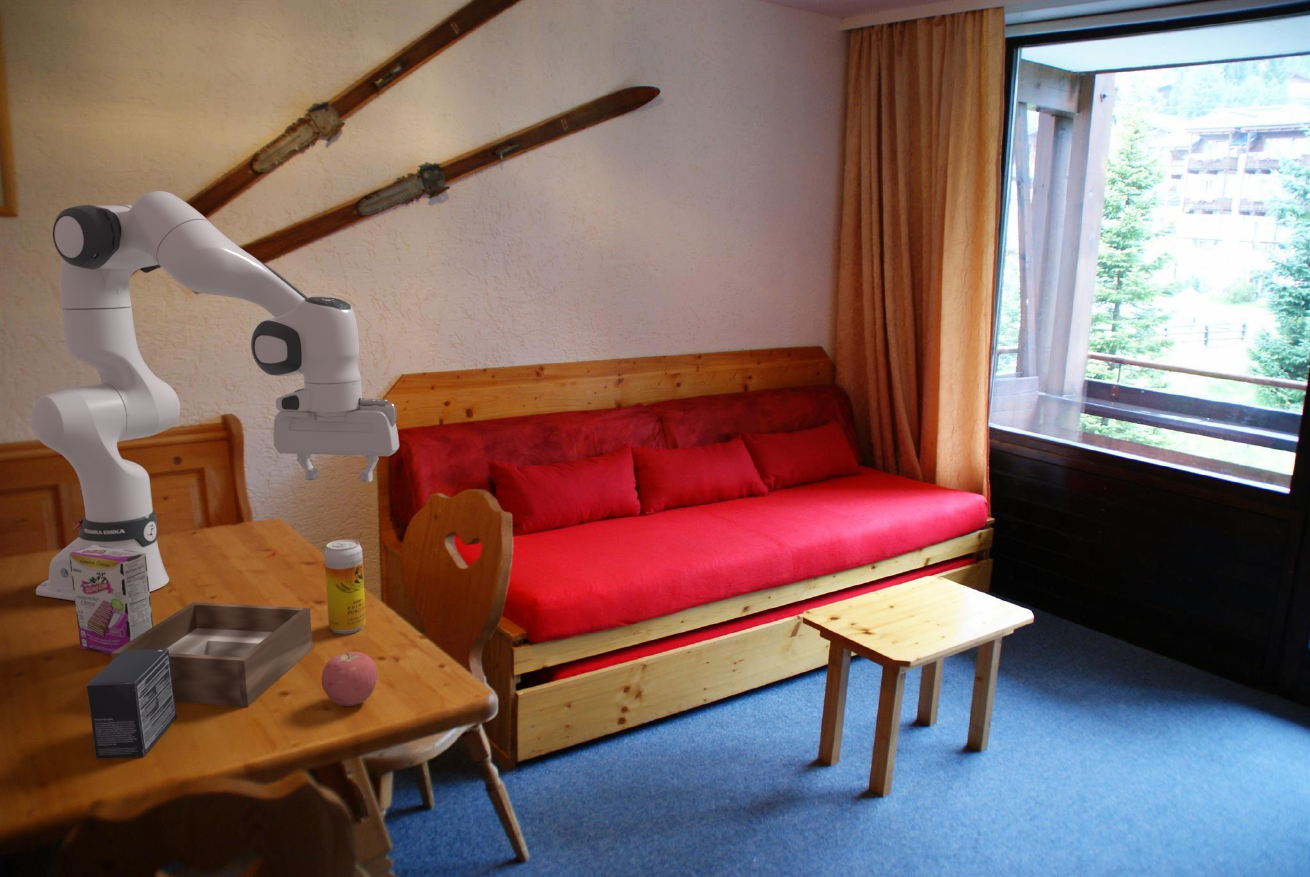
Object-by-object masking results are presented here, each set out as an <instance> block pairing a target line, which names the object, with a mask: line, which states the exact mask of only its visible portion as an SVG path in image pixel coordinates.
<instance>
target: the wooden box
mask: <svg viewBox="0 0 1310 877" xmlns="http://www.w3.org/2000/svg"><path fill="white" fill-rule="evenodd" d="M312 635H313V634H312V621H311V608H310V607H309V608H308V607H294V606H293V607H292V606H275V605H274V606H273V605H253V604H237V603H236V604H231V603H217V602H215V603H214V602H194V601H193V602H190V603H189V604H187V605H186V606H183V607H182V608H181V609H179V610H178V611H176V612H175V613H173V614H171V615H169V617H167V618H165V619H164V620H162V621H160V622H159V623H157V624H155V625H153V627H152V628H151V629H149V630H147V631H146V632H144V633H143V634H141V635H139V636H138V637H136V638H135V639H133V640H131V641H130V642H128V643H127V644H125V645H123V646H122V647H120V648H119V649H117V650H115V651H114V652H112V653H111V654H110V655H111V660H112V661H113V660H114V659H115V658H116V657H117V656H118V655H119V654H120V653H122V652H123V651H128V650H148V649H168V650H169V658H170V667H171V675H172V685H173V694H174V701H175V703H184V704H198V705H199V704H200V705H213V706H214V705H217V706H231V707H246V708H248V707H250V706H251V705H252V704H253V703H254V702H255V701H256V700H257V699H259V697H261V696H262V695H263V694H264V693H265V692H266V691H268V689H269V688H271V687H272V686H273V685H274V684H275V683H277V682H278V680H280V679H281V678H282V677H283V676H285V675H286V673H287V672H289V671H290V670H291V669H292V668H293V667H294V666H295V665H296V664H297V663H299V662H300V661H301V660H302V659H303V658H304V657H305V656H306V655H308V654H309V653H310V652H311V651H312V650H313V636H312ZM112 661H111V662H112Z"/></svg>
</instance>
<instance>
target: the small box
mask: <svg viewBox="0 0 1310 877" xmlns="http://www.w3.org/2000/svg"><path fill="white" fill-rule="evenodd" d="M86 692H87V699H88V707H89V715H90V721H91V729H92V736H93V738H92V739H93V744H94V746H93V747H94V752H95V753H94V754H95V759H96V760H97V759H99V760H100V759H124V758H127V759H128V758H144V757H146V756H147V754H149V752H150V751H151V750H152V748H153V747H154V746H155V745H156V744H157V743H158V742H159V740H160V739H161V737H163V735H164V734H165V733H166V731H168V729H169V728H170V727H171V725H173V724H174V722H175V721H176V719H177V718H178V715H177V714H178V713H177V707H176V704H175V703H176V702H175V701H174V694H173V685H172V675H171V667H170V658H169V650H168V649H148V650H128V651H123V652H122V653H120V654H119V655H118V656H117V657H116V658H115V659H114V660H113V661H111V662H109V664H107V665H106V666H105V667H104V668H103V669H102V670H101V671H100V672H99V673H97V674H96V675H95V676H94V677H93V678H92V679H91V680H90V681H89V682H88V683H87V684H86Z"/></svg>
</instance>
